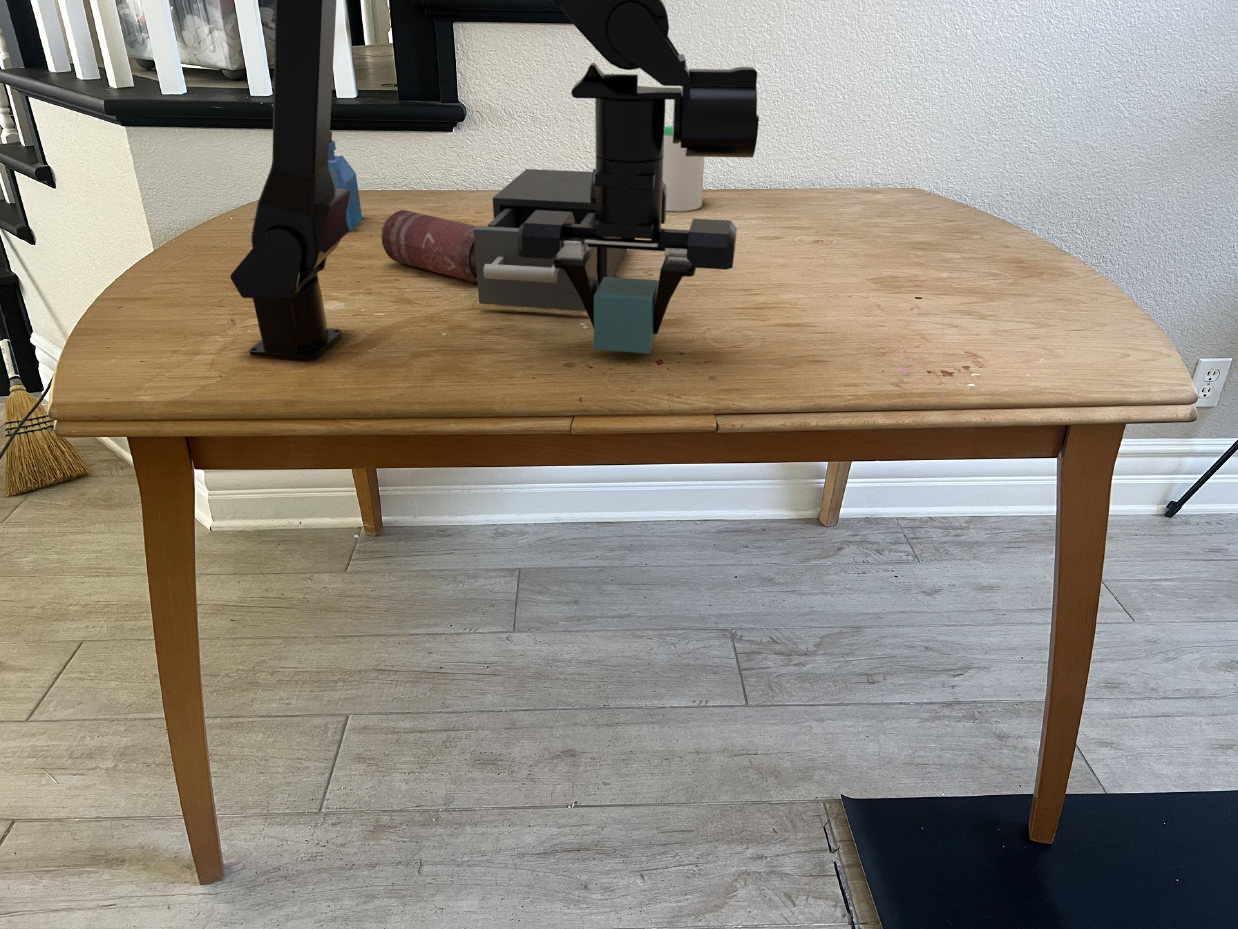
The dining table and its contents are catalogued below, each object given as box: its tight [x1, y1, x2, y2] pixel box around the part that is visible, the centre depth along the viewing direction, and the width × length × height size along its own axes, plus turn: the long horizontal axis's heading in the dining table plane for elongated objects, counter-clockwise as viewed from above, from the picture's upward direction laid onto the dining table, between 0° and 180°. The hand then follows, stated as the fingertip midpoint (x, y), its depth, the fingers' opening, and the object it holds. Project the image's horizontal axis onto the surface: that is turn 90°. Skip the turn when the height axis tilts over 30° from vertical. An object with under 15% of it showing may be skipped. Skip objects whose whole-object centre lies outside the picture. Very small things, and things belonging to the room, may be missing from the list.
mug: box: [663, 125, 705, 212], centre depth 127 cm, size 12×8×10 cm, turn 14°
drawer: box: [473, 206, 600, 312], centre depth 90 cm, size 18×11×8 cm, turn 171°
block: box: [593, 276, 659, 354], centre depth 79 cm, size 5×5×5 cm
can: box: [380, 209, 478, 283], centre depth 99 cm, size 6×6×14 cm
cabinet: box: [492, 168, 628, 287], centre depth 100 cm, size 15×13×10 cm
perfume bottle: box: [328, 130, 363, 232], centre depth 114 cm, size 6×6×12 cm
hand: (626, 330), depth 79 cm, fingers closed on block, 5 cm apart
